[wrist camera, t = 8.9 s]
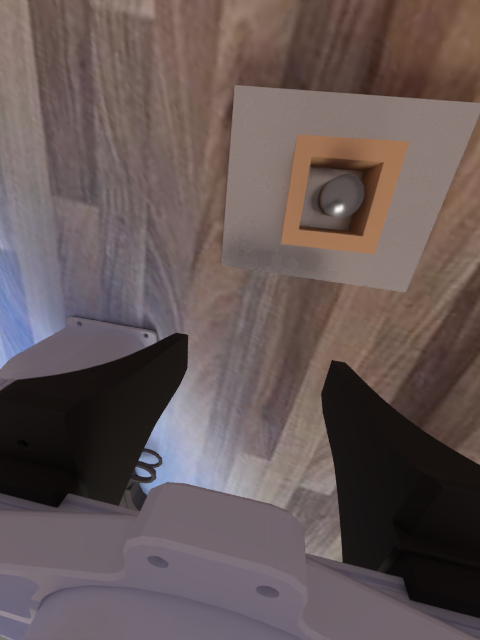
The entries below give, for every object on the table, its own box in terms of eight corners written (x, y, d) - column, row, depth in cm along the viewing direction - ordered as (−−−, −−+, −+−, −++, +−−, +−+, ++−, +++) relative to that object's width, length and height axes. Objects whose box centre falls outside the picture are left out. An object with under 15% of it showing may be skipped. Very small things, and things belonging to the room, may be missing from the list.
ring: (281, 237, 18) (280, 243, 15) (294, 149, 16) (297, 134, 13) (357, 245, 18) (374, 254, 14) (383, 155, 15) (409, 141, 12)
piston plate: (223, 262, 21) (205, 280, 16) (237, 92, 16) (216, 40, 11) (400, 288, 19) (440, 316, 14) (471, 109, 15) (567, 60, 10)
